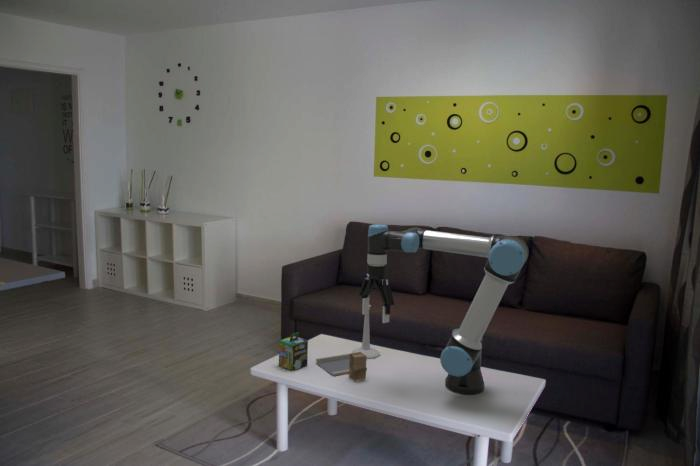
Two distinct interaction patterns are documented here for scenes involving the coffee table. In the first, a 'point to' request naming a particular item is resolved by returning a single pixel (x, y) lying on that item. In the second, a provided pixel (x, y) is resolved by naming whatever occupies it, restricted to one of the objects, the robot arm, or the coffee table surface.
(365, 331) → the candlestick
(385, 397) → the coffee table surface
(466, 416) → the coffee table surface
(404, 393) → the coffee table surface
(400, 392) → the coffee table surface
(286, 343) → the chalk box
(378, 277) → the robot arm
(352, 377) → the block
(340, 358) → the grey flat square piece
